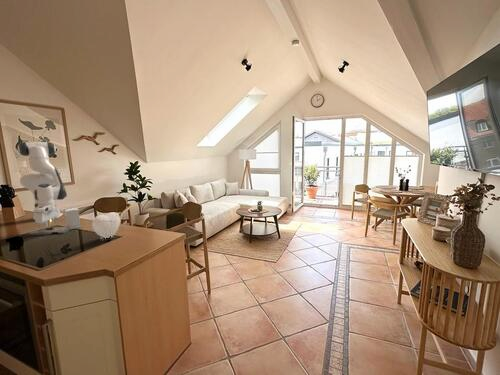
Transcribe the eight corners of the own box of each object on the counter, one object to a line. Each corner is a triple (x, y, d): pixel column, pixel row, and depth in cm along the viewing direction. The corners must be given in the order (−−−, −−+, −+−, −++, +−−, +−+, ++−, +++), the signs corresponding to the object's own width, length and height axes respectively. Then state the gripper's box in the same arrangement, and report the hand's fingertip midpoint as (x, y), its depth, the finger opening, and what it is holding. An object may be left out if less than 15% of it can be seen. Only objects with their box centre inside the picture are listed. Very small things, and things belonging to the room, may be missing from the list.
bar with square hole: (36, 231, 175) (35, 228, 175) (69, 230, 179) (69, 226, 178) (29, 235, 168) (28, 231, 168) (64, 233, 172) (63, 229, 171)
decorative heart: (114, 233, 172) (112, 210, 170) (125, 235, 168) (123, 211, 166) (89, 242, 156) (87, 216, 154) (100, 244, 152) (98, 218, 149)
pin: (48, 230, 175) (47, 218, 173) (53, 230, 175) (52, 218, 174) (45, 232, 172) (44, 220, 170) (50, 232, 172) (49, 219, 171)
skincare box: (80, 226, 189) (78, 207, 187) (80, 228, 184) (79, 209, 182) (66, 228, 184) (64, 209, 182) (67, 230, 179) (65, 210, 177)
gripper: (51, 204, 180) (53, 221, 183) (31, 210, 161) (34, 230, 163) (60, 203, 181) (62, 221, 184) (42, 210, 162) (44, 230, 164)
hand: (49, 225), depth 173 cm, fingers closed on pin, 3 cm apart
